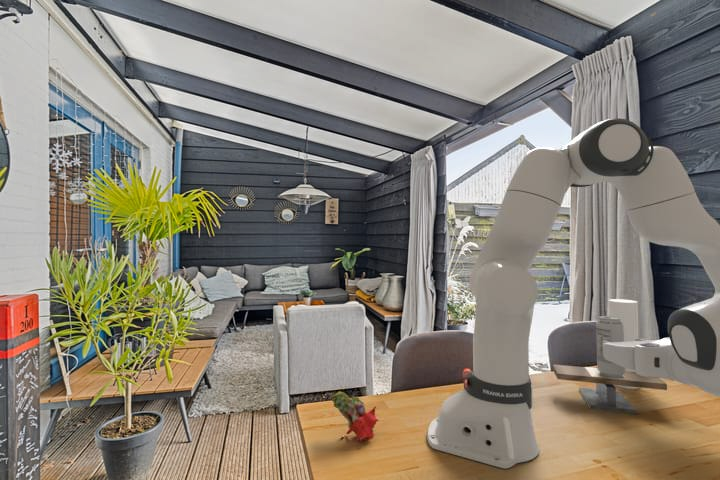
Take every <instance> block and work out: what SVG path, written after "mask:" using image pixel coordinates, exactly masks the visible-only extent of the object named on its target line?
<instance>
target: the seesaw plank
mask: <svg viewBox="0 0 720 480" xmlns="http://www.w3.org/2000/svg"><path fill="white" fill-rule="evenodd" d="M552 372H553V373H554V374H555V377H556V379H557V380H563V381H571V382H572V381H573V382H582V383H590V384H591V383H592V384H596V383H601V384H611V385H614V386H615V385H621V386H630V387H639V389H640V388H643V389H651V390H661V391H662V390H664V391H668V384H667V383H666V382H665V381H664V380H662V378H655V377H645V376H641V375H638V374H636V372H632V371H625V374H623V377H621V378H612V377H607V376H604V375H601V374H600V371H598V369H597V367H588V366H574V365H565V364H564V365H562V364H552Z"/></svg>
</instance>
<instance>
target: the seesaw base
mask: <svg viewBox="0 0 720 480" xmlns="http://www.w3.org/2000/svg"><path fill="white" fill-rule="evenodd" d="M616 387H617V386H615V385H611V384H601V383H595V388H589V387H588V388H587V387H578V388H579V389H578V392H579V393H580V395H581V396H582V397H583V399H584V401H585V403H586V404H587V406H588V407H589V409H590V410H591V409H592V410H599V411H608V412H616V413H624V414H631V415H632V414H633V415H638V411H637V410H638V409H636V408H635V406H634V405H633V404H632V403H631V402H630V401H629V400H628V399H627V397H626V396H625V395H623V393H622V392H621V391H617V388H616Z"/></svg>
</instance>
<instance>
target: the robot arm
mask: <svg viewBox="0 0 720 480" xmlns="http://www.w3.org/2000/svg"><path fill="white" fill-rule="evenodd" d="M605 182H606V183H607V182H608V183H609V184H611V185H612V186H614V187H615V189H616V190H617V191H618V192H619V194H620V196H621V198H622V201H623V202H622V203H623V206H624V208H625V211H626V213H627V217H628V220H629V222H630V224H631V227H632V228H633V230H634V231H635V233H636V234H637V235H638V236H639V237H640V238H642V239H644V240H645V241H648V242H649V243H653V244H656V245H659V246H667V247H678V248H683V249H686V250H688V251H690V252H692V253H693V254H694V255H695V256H696V257H697V258H698V260H699V262H700V264H701V265H702V267H703V269H704V270H705V272H706V274H707V277H708V278H709V280H710V281H711V283H712V285H713V287H714V289H715V290H714V294H713V296H712V297H711V298H708V299H705V300H703V301H700V302H694V303H692V304H689V305H687V306H685V307H684V306H683V307H682V308H679V309H676V310H674V311H673V312H672V313H671V314H670V315H669V316H668V319H667V333H668V337H663V338H661V339H653V340H652V339H651V340H649V339H645V338H639V339H636V341H628V342H612V341H603V342H602V346H603V356H604V358H605V359H606V360H608V361H610V362H613V363H615V364H617V365H620V366H622V367H625V368H628V369H632V370H635V371H636V374H638V375H641V376H645V377H655V378H660V379H664V380H668V381H671V382H677V383H679V384H682V385H685V386H689V387H690V386H691V387H697V388H698V389H699V390H701V391H703V392H705V393H708V394H710V395H713V396H715V397H718V398H720V221H719V220H718V219H716V218H715V217H713V216H711V215H710V214H709V213H708V212H707V210H706V209H705V208H704V206H703V205H702V203H701V201H700V199H699V198H698V196H697V193H696V191H695V187H694V185H693V183H692V181H691V179H690V176H689V175H688V173H687V171H686V169H685V167H684V166H683V164H682V162H681V161H680V159H679V158H678V157H677V155H676V154H675V152H673V150H671V148H668V147H666V146H659V145H654V143H653V141H652V140H651V139H650V138H648V137H647V135H646V133H645V132H644V130H643V129H642V128H641V127H640V126H639V125H637V124H636V123H634V122H633V121H631V120H628V119H626V118H619V117H618V118H617V117H616V118H611V119H610V118H609V119H605V120H601V121H598V122H597V123H595V124H594V125H591V126H590V127H589V128H587V129H586V130H584V131H582V132H580V133H579V134H577V135H575V137H573V138H572V139H571V140H570V141H568V143H566V144H565V145H564V146H563V147H561V148H560V149H557V148H553V147H546V146H543V147H541V146H540V147H536V148H534V149H531V150H530V151H528V152H527V153H526V154H525V155H524V156H523V158H522V160H521V162H520V163H519V164H518V166H517V168H516V170H514V174H513V175H512V177H511V180H510V181H509V183H508V187H507V188H506V191H505V194H504V196H503V198H502V202H501V204H500V207H499V209H498V212H497V215H496V216H495V219H494V221H493V224H492V226H491V229H490V231H489V233H488V235H487V237H486V238H485V241H484V244H483V245H482V247H481V249H480V251H479V253H478V256H477V258H476V260H475V263H474V265H473V266H472V269H471V272H470V274H469V279H468V286H469V290H470V291H471V293H472V295H473V297H475V315H474V319H475V320H474V327H473V328H474V330H473V335H472V358H473V360H472V364H473V365H472V366H473V367H472V368H473V370H471V369H470V368H464V370H463V371H462V377H463V389H461V390H460V391H458V392H457V393H455V394H454V393H453V395H451V396H450V397H448V398H446V399H445V400H444V401H443V402H442V405H441V407H440V409H439V412H438V416H437V417H435V418H434V419H433V420H432V421H431V422H430V423H429V426H428V429H427V436H426V437H427V438H426V439H427V442H428V445H429V446H430V447H431V448H432V449H434V450H437V451H441V452H444V453H448V454H451V455H455V456H458V457H462V458H466V459H468V460H472V461H476V462H478V463H479V462H480V463H483V464H486V465H490V466H494V467H497V468H501V469H509V468H511V467H514V466H515V465H516V464H519V463H523V462H524V463H525V462H528V461H530V460H531V461H532V460H533V459H535V458H536V457H538V455H539V453H540V448H539V444H538V441H537V438H536V434H535V430H534V425H533V418H532V405H533V384H532V381H531V380H532V379H531V377H530V366H529V365H530V363H529V361H530V360H529V358H530V357H529V353H530V352H529V351H530V350H529V348H530V347H529V345H530V343H529V342H530V334H531V328H532V322H533V316H534V308H535V307H534V306H535V304H536V302H537V300H538V295H539V288H538V284H537V282H536V280H535V277H534V276H533V275H532V273H531V272H530V271H529V269H530V267H532V264H533V263H534V261H535V260H536V257H537V256H538V255H539V253H540V252H541V250H542V249H543V248H544V246H545V245H546V244H547V242H548V239H549V237H550V234H551V232H552V229H553V227H554V225H555V222H556V219H557V216H558V215H559V212H560V210H561V206H562V204H563V201H564V199H565V196H566V193H567V192H568V190H569V188H571V187H572V188H586V187H589V186H593V185H595V184H601V183H605ZM529 377H530V378H529Z"/></svg>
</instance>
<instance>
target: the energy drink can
mask: <svg viewBox="0 0 720 480" xmlns="http://www.w3.org/2000/svg"><path fill="white" fill-rule="evenodd" d="M597 318H598V319H597V320H596V322H595V336H596V337H595V338H596V339H595V340H596V364H597V365H596V366H597V367H596V368H597V369H598V371H600V374H601V375H604V376H607V377H612V378H621V377H623V374H625V367H622V366H620V365H617V364H615V363H613V362H610V361H608V360H606V359H605V358H604V356H603V346H602V342H603V341H612V342H624V330H623V324H622V322H621V321H620V318H619V317H613V316H609V315H599V316H598V317H597Z"/></svg>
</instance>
